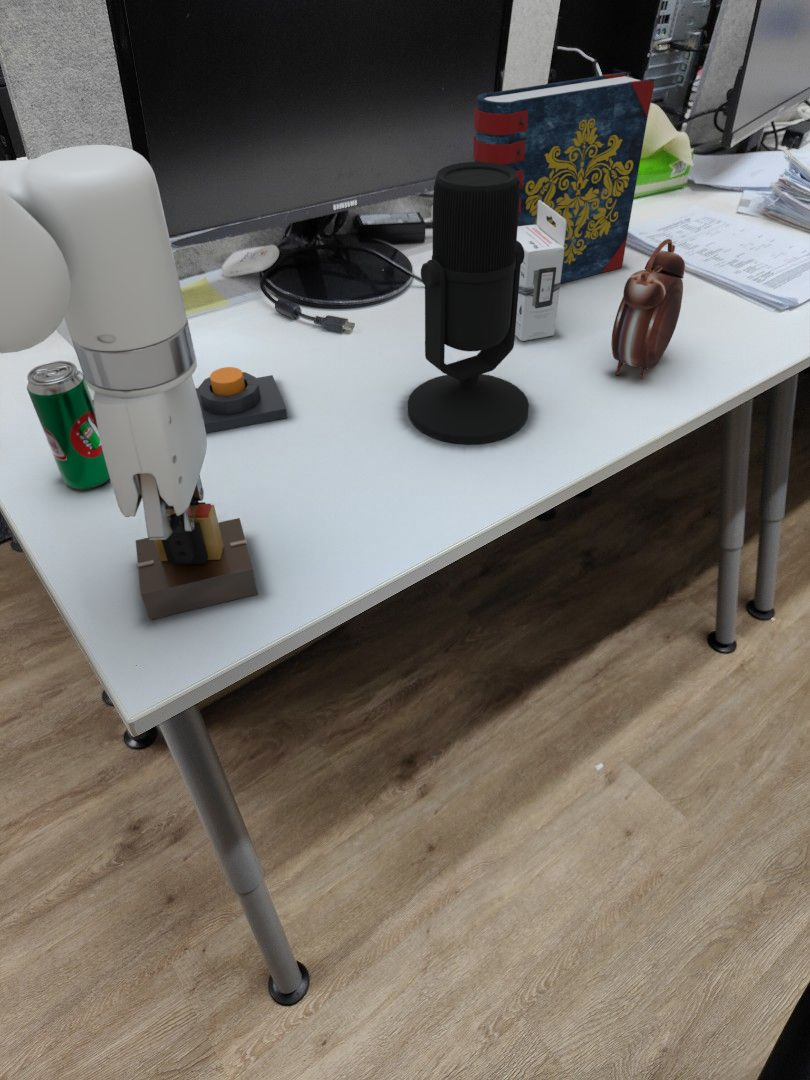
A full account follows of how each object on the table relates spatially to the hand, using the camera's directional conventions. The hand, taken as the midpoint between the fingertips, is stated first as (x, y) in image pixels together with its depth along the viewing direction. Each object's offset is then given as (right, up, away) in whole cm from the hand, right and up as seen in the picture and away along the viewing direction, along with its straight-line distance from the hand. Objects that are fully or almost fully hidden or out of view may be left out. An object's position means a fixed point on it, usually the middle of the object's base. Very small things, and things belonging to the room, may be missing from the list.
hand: (191, 550), depth 64 cm
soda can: (-14, +7, +14) cm, 21 cm away
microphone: (+25, +15, +22) cm, 37 cm away
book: (+38, +39, +49) cm, 74 cm away
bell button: (-2, +18, +21) cm, 28 cm away
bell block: (-2, +16, +23) cm, 28 cm away
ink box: (+34, +29, +38) cm, 58 cm away
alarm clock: (+46, +22, +29) cm, 59 cm away
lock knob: (0, 0, 0) cm, 0 cm away
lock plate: (0, -3, +2) cm, 3 cm away
